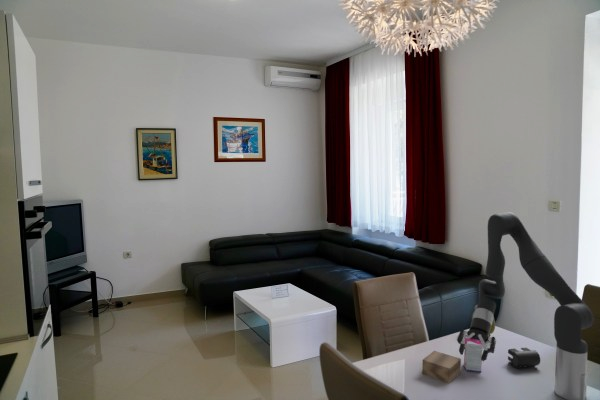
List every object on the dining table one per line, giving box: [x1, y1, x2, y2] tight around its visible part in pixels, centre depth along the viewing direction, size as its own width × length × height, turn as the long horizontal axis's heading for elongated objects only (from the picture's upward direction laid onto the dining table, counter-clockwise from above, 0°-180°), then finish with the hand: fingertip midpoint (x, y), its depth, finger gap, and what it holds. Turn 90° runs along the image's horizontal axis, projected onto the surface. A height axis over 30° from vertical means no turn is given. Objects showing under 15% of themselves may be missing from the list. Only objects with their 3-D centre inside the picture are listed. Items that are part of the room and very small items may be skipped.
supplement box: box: [463, 337, 483, 373], centre depth 166 cm, size 6×6×12 cm
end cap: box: [507, 346, 541, 369], centre depth 168 cm, size 10×7×7 cm
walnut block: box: [421, 350, 462, 384], centre depth 163 cm, size 11×11×6 cm
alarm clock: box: [471, 304, 496, 337], centre depth 198 cm, size 12×7×15 cm, turn 10°
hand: (471, 357), depth 165 cm, fingers open, 8 cm apart
